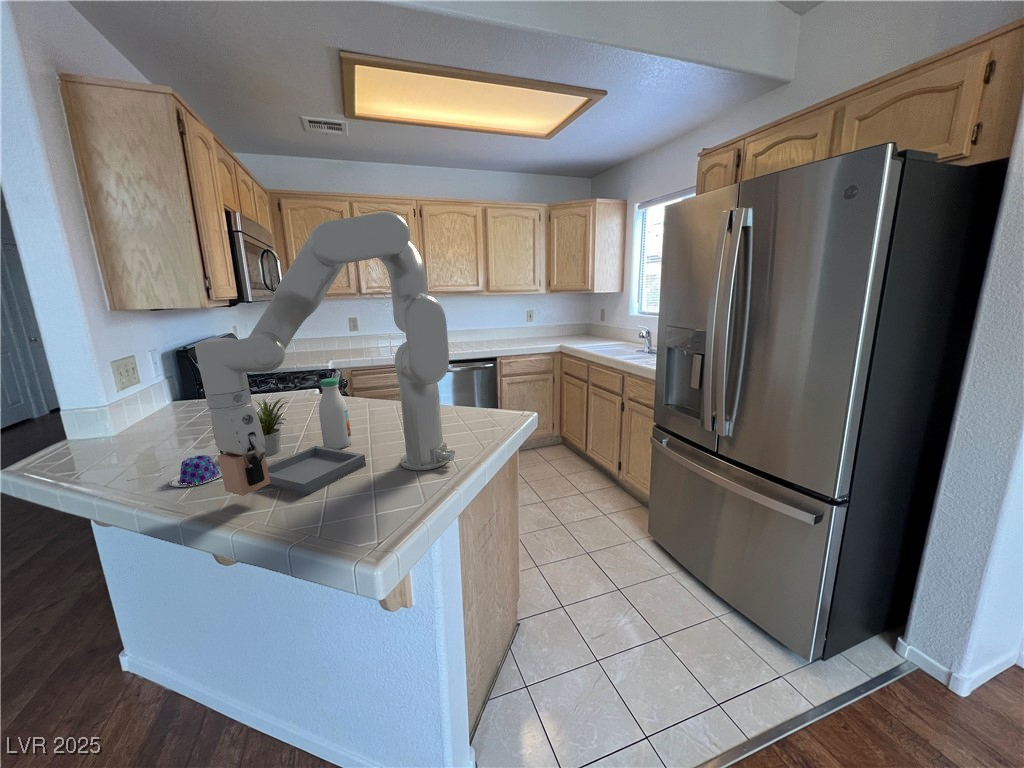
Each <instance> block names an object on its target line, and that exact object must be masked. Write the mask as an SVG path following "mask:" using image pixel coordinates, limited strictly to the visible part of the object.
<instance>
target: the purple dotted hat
mask: <svg viewBox="0 0 1024 768" xmlns="http://www.w3.org/2000/svg"><path fill="white" fill-rule="evenodd" d="M218 470H219V471H220V472H221V469H220V465H216V464H215V463H214V461H213V459H212V457H211V456H209V455H206V454H203V455H195V456H192V457H188V458H186V459H184V460H182V462H181V465H180V474H178V475H176V476H175V477H173V478H171V479H170V480H169V482H168V485H169V486H171V487H176V488H177V487H178V488H179V487H181V488H182V487H187V486H174V485H172V482H173V481H174V480H175V479H177V478H179V477H180V481H179V484H180V483H182V484H181V485H184V484H183V483H187V484H192V483H196V482H203V483H200V484H198V483H196V485H195V486H197V485H201V484H206V483H209V482H211V481H214V480H216V479H218V478H220V477H222V473H220V472H219V471H218ZM219 474H220V475H219ZM218 475H219V476H218ZM214 477H216V478H214ZM211 478H212V480H211ZM213 478H214V479H213ZM207 480H208V481H207ZM204 481H205V482H204ZM187 484H186V485H187ZM192 486H194V485H193V484H192V485H190V486H189V487H192Z"/></svg>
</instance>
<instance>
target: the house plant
mask: <svg viewBox="0 0 1024 768" xmlns="http://www.w3.org/2000/svg"><path fill="white" fill-rule="evenodd" d="M285 398H286V396H284V397H281V398H278V399H277V400H276V402H271V403H270V404H268V402H267V401H266V399H264V398H262V404H261V403H260V401H259V400H258V399H257V398H256V399H254V398H252V401H253V400H254V401H255V402H256V403H257V405H258V406H259V409H261V411H262V414H263V417H264V418H262V415H261V413H260V414H258V413H257V415H258V418H259V421H260V424H261V427H262V431H263V435H264V439H265V450H266V453H265V457H269V456H274V455H277V454H279V453H280V452H281V448H282V447H281V442H282V441H281V439H282V438H281V436H282V434H281V433H282V429H281V428H280V429H279V428H274V427H275V425H277V424H281V425H285V423H284V422H283V421H285V422H287V418H284V417H283V418H282V419H280V420H282V422H279V423H277V421H279V420H278V419H279V418H280V417H282V415H283V414H285V413H287V411H283V412H280V410H281V408H282V407H283V406H284V405H286V404H288V403H289V401H286V402H283V403H282V404H280V406H279V407H278V408H276V407H277V405H278V404H279V403H280V402H281V401H282V400H283V399H285ZM272 404H273V405H272ZM268 406H269V410H268ZM263 407H264V410H263ZM271 407H272V408H271ZM275 408H276V409H277V412H276V414H274V415H275V416H273V417H272V415H273V412H274V409H275ZM270 409H271V410H270ZM256 412H258V411H257V410H256ZM278 412H280V415H279V416H278V417H277V414H278ZM276 417H277V419H276ZM275 419H276V420H275ZM274 421H275V423H274ZM273 424H274V425H273Z"/></svg>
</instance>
